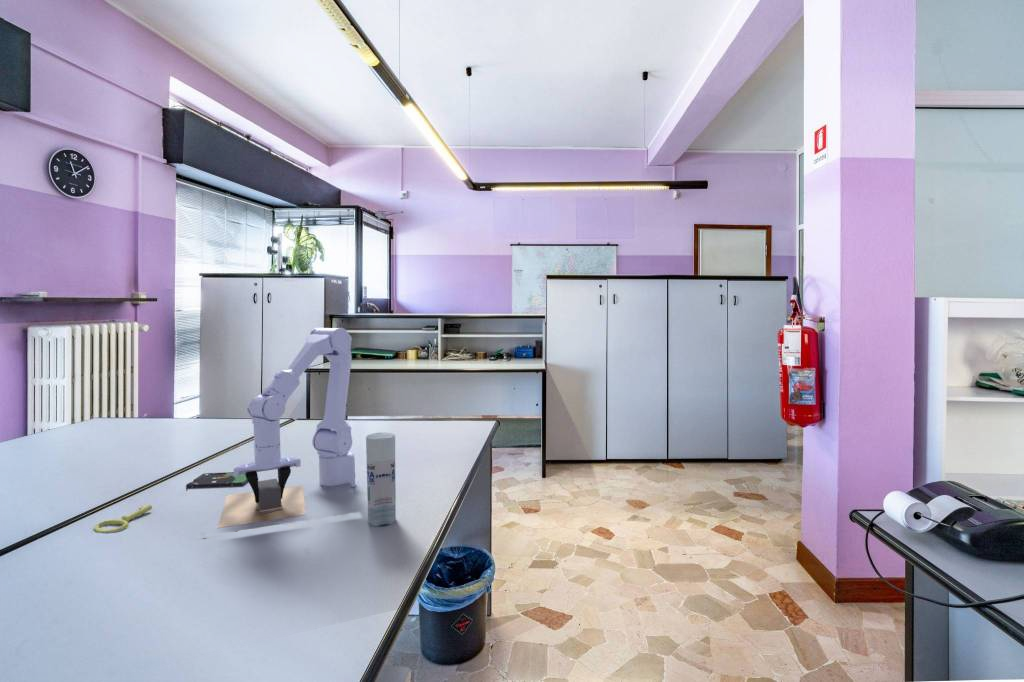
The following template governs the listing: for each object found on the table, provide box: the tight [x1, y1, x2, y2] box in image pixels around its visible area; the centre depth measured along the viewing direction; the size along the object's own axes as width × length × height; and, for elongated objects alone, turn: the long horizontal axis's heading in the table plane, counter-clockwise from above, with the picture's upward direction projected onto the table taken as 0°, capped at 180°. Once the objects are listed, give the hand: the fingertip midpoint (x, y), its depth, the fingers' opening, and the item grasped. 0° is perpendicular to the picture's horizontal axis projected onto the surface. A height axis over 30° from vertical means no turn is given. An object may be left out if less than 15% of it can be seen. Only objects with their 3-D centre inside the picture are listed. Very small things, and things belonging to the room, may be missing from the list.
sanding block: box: [258, 478, 281, 512], centre depth 125 cm, size 4×8×5 cm, turn 32°
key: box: [93, 504, 153, 534], centre depth 118 cm, size 7×12×2 cm, turn 5°
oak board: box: [217, 485, 307, 529], centre depth 125 cm, size 18×22×1 cm
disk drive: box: [185, 471, 249, 492], centre depth 143 cm, size 10×3×15 cm
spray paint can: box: [365, 432, 397, 527], centre depth 118 cm, size 6×6×20 cm
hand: (268, 499), depth 125 cm, fingers closed on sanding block, 4 cm apart
